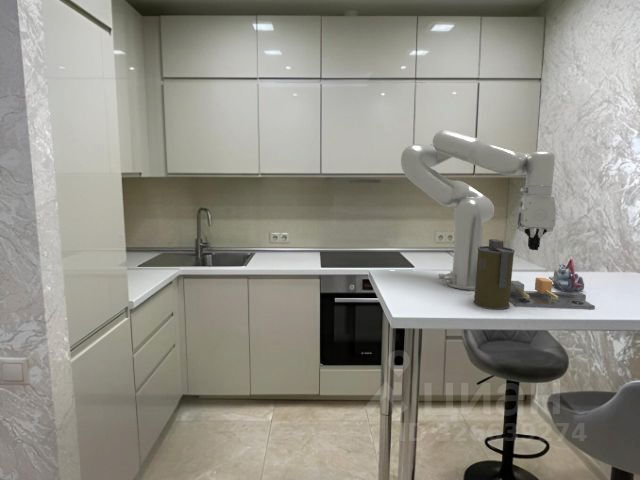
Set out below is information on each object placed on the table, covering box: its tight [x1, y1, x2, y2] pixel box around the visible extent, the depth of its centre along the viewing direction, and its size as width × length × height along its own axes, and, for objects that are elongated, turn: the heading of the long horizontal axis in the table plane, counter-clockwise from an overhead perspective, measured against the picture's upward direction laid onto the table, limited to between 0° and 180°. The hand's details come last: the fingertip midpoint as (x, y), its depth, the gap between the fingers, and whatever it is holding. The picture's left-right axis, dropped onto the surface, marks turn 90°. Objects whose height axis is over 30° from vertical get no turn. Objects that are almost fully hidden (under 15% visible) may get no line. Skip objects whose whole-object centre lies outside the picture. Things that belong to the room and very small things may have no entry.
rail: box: [510, 290, 587, 301], centre depth 138 cm, size 24×2×2 cm, turn 86°
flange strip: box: [509, 298, 596, 310], centre depth 132 cm, size 23×6×1 cm, turn 86°
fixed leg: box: [510, 280, 530, 300], centre depth 135 cm, size 3×12×4 cm, turn 176°
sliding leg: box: [534, 277, 559, 301], centre depth 134 cm, size 3×12×5 cm, turn 176°
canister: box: [473, 238, 515, 311], centre depth 129 cm, size 11×10×20 cm
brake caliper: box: [548, 258, 585, 293], centre depth 150 cm, size 11×11×12 cm
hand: (533, 249), depth 136 cm, fingers closed
